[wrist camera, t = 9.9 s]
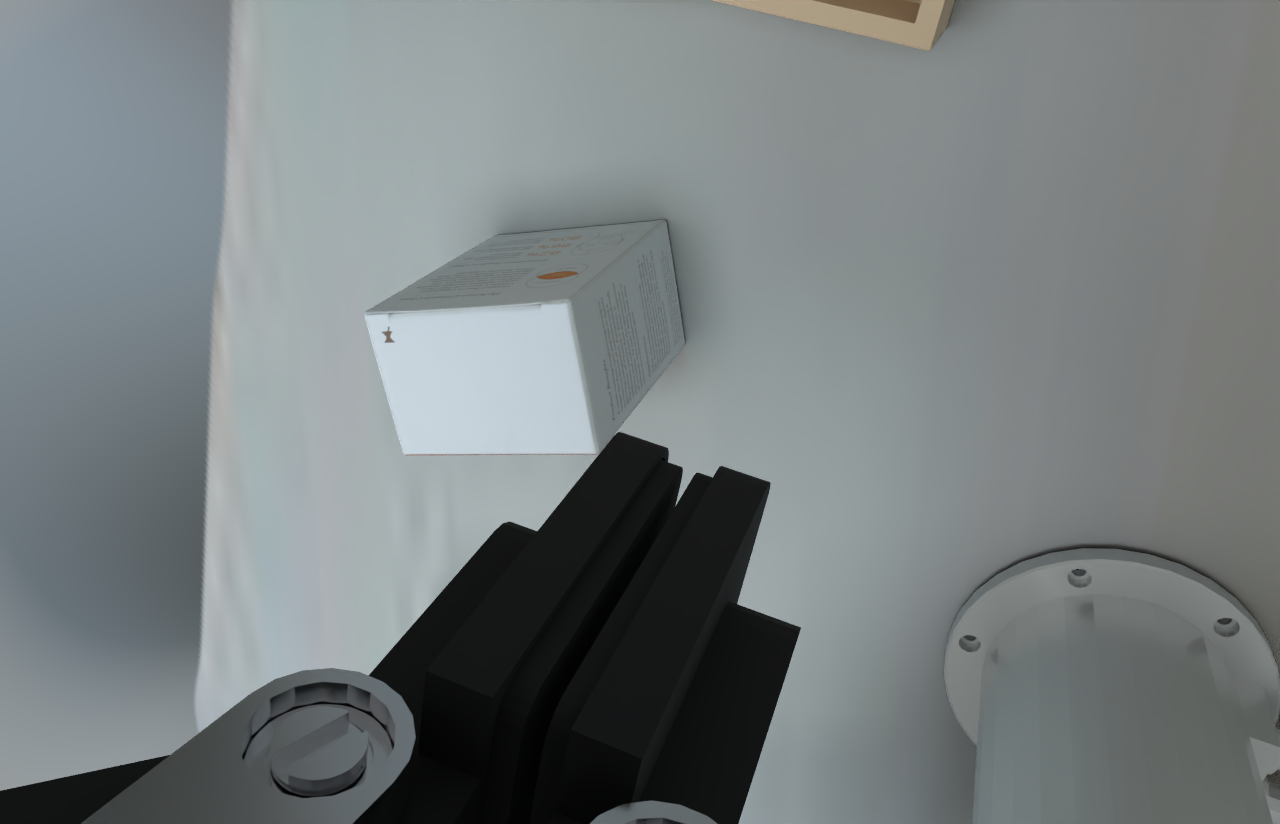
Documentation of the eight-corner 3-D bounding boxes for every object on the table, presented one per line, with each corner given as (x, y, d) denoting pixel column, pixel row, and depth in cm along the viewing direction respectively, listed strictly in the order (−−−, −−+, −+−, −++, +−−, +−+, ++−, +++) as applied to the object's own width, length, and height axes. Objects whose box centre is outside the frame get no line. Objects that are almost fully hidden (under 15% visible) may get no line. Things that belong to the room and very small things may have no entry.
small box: (521, 352, 45) (396, 459, 36) (494, 230, 43) (354, 312, 34) (690, 346, 42) (599, 461, 33) (671, 215, 40) (568, 300, 31)
